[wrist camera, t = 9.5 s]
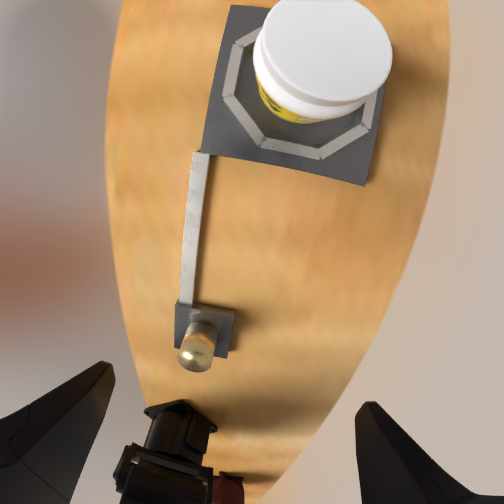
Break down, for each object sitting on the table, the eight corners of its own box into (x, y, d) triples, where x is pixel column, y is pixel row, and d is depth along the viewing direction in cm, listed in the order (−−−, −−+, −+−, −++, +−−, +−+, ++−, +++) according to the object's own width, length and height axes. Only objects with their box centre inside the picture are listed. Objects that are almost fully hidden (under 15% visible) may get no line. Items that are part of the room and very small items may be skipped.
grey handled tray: (301, 362, 22) (304, 396, 19) (176, 341, 22) (164, 373, 19) (385, 45, 12) (411, 28, 9) (221, 8, 12) (210, -18, 9)
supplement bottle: (249, 57, 13) (231, -12, 5) (328, 45, 12) (377, -20, 5) (268, 132, 15) (270, 126, 7) (347, 119, 14) (420, 109, 6)
